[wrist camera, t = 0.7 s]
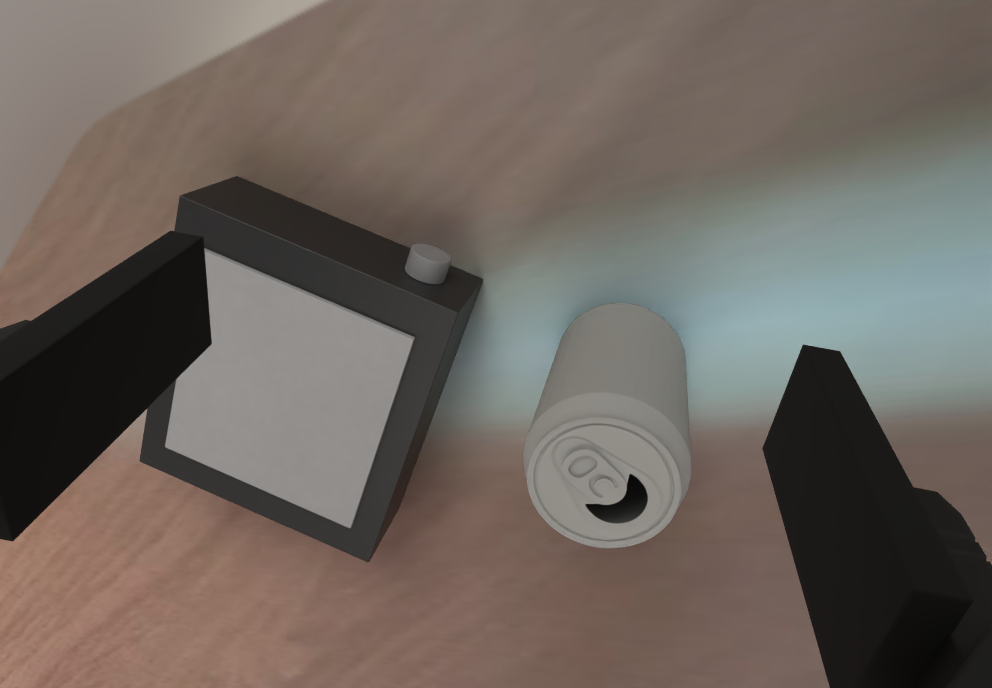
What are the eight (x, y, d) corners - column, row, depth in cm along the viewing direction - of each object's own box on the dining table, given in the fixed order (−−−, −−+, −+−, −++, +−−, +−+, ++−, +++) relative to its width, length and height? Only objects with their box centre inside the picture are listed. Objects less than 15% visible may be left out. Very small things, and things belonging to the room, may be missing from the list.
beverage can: (615, 432, 39) (596, 585, 28) (533, 348, 38) (481, 473, 28) (712, 363, 37) (731, 503, 26) (626, 271, 36) (609, 376, 25)
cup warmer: (240, 153, 38) (178, 172, 33) (491, 257, 37) (465, 291, 32) (191, 418, 45) (135, 464, 40) (398, 509, 44) (366, 566, 40)
